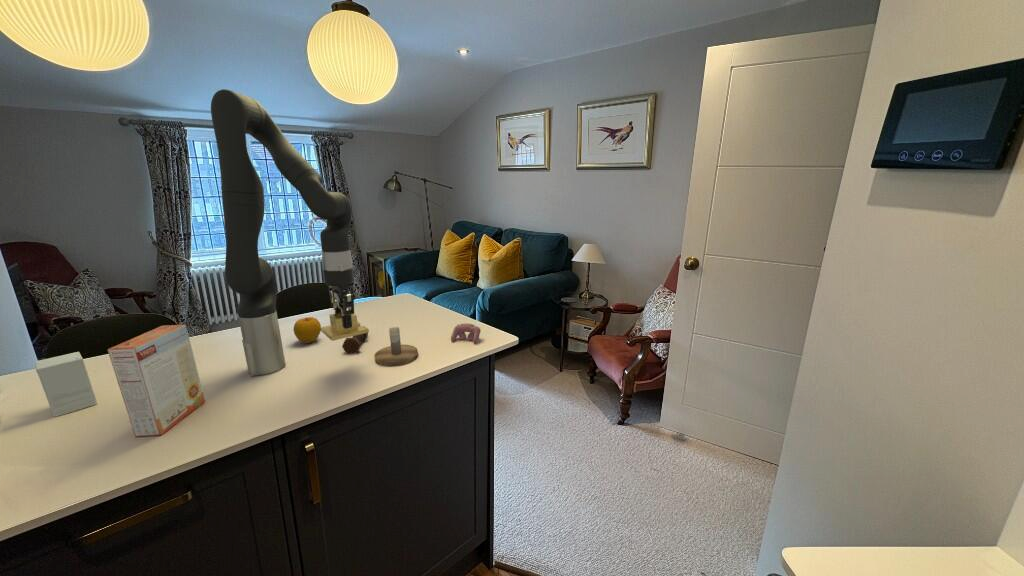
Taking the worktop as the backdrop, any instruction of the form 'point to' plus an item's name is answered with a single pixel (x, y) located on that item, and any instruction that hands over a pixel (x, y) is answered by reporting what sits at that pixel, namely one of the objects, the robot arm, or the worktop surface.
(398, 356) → the post base
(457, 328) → the purple arched piece
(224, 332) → the worktop surface
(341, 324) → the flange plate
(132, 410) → the cracker box
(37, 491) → the worktop surface
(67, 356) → the supplement box
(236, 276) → the robot arm
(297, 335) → the apple
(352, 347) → the dark brown dumbbell
